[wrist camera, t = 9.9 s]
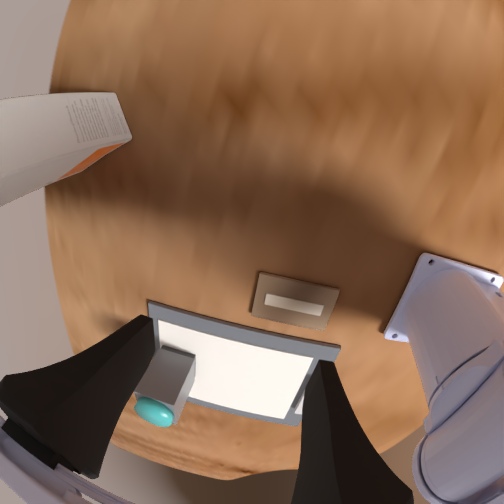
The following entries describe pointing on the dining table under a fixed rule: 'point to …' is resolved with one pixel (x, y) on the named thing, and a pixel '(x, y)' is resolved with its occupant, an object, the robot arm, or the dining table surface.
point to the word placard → (294, 301)
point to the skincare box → (55, 138)
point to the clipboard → (242, 364)
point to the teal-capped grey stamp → (165, 386)
